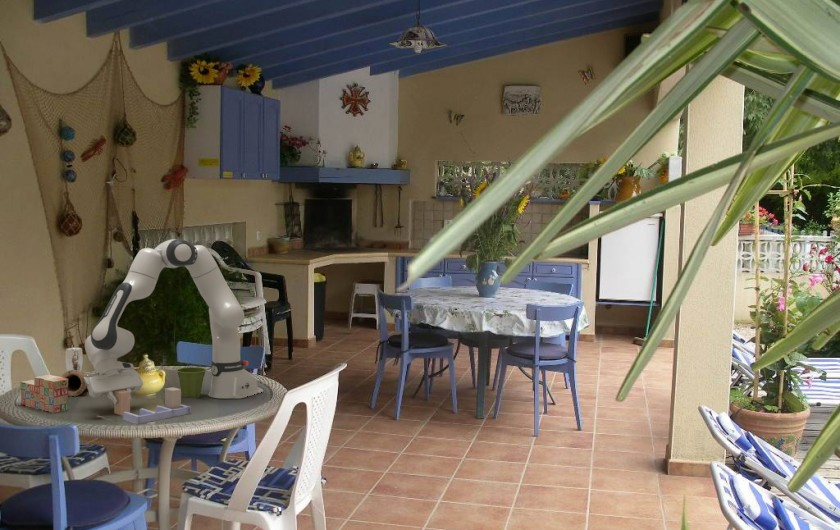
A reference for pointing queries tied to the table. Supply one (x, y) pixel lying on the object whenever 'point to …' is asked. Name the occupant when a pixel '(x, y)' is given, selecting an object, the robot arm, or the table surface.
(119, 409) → the tan rectangular block
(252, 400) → the table surface
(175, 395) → the beige upright block
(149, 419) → the rack
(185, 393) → the plant pot
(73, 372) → the clay pipe
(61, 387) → the stack of blocks
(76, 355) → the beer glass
